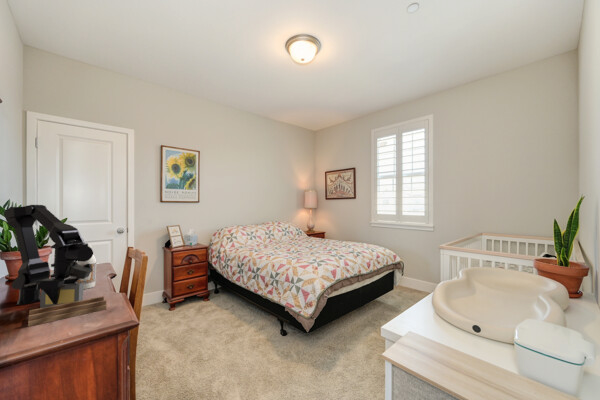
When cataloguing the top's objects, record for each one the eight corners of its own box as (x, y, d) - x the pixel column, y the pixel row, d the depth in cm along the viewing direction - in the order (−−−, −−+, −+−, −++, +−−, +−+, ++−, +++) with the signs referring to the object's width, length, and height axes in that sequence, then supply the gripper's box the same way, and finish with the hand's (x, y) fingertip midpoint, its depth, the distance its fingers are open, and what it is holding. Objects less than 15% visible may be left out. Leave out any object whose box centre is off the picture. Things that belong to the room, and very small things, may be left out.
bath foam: (74, 290, 114) (76, 246, 114) (77, 286, 119) (79, 244, 120) (94, 288, 117) (96, 245, 118) (96, 284, 123) (97, 243, 124)
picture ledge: (28, 326, 79) (28, 317, 80) (29, 318, 85) (29, 309, 85) (106, 309, 94) (106, 301, 94) (102, 303, 99) (103, 295, 99)
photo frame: (40, 308, 94) (41, 287, 94) (45, 305, 96) (47, 284, 97) (78, 305, 97) (79, 285, 97) (82, 302, 100) (83, 282, 100)
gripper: (74, 264, 91) (72, 307, 90) (100, 254, 108) (98, 290, 108) (36, 265, 87) (34, 310, 87) (69, 255, 105) (67, 292, 105)
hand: (62, 300), depth 97 cm, fingers open, 8 cm apart
